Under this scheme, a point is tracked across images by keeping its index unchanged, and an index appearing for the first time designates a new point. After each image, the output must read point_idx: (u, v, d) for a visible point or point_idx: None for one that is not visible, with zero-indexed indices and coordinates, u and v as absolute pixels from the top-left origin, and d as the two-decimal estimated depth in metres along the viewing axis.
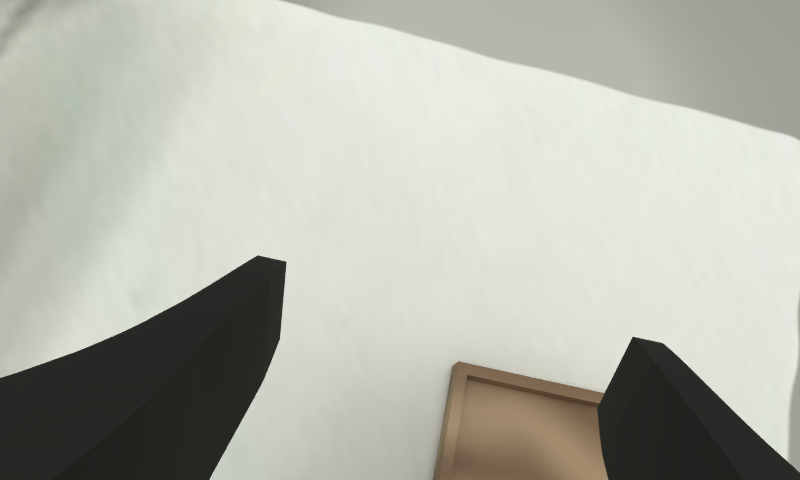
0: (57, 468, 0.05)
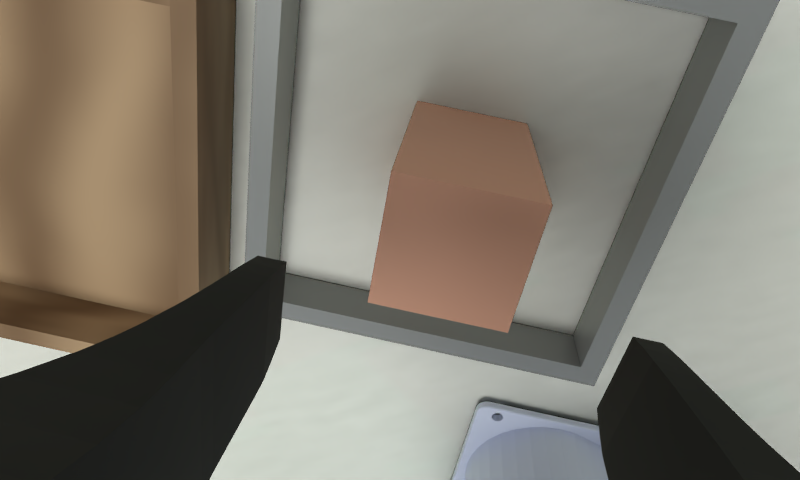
0: (57, 468, 0.05)
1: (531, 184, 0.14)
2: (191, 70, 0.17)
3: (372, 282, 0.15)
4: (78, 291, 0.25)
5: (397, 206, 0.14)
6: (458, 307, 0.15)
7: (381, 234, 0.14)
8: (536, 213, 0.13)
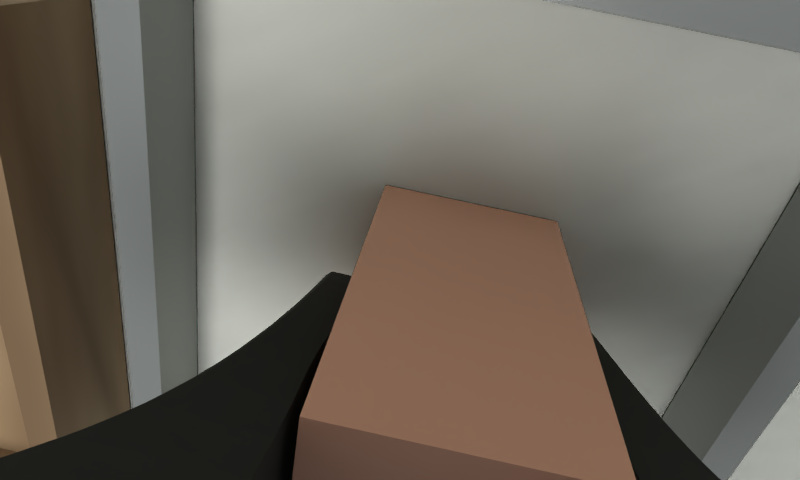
0: None
1: (586, 413, 0.07)
2: None
3: None
4: None
5: (317, 473, 0.07)
6: None
7: None
8: None
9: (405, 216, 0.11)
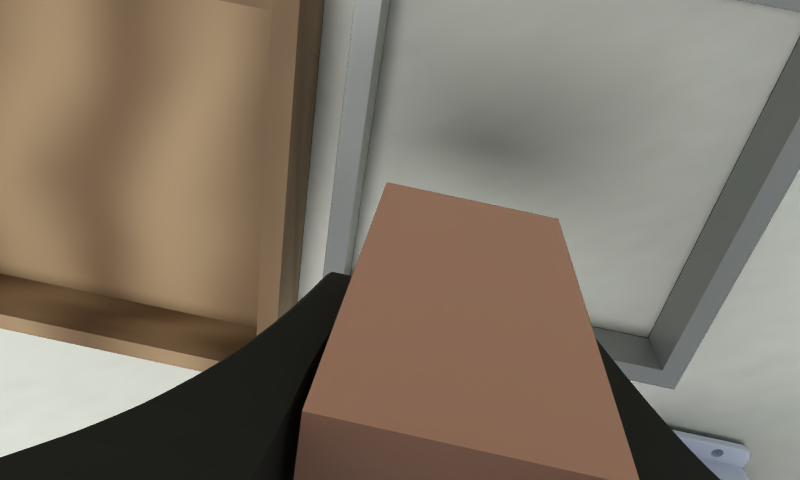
0: None
1: (588, 408, 0.07)
2: (289, 74, 0.16)
3: None
4: (146, 297, 0.25)
5: (319, 467, 0.07)
6: None
7: None
8: None
9: (406, 213, 0.11)
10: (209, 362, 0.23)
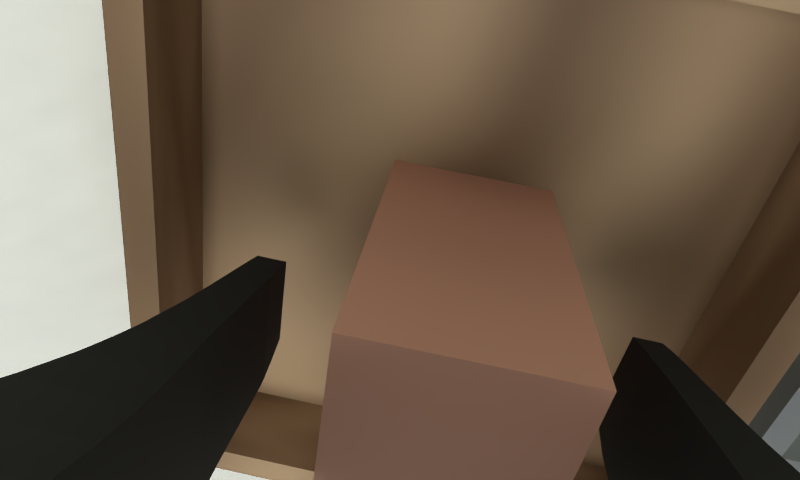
0: (57, 468, 0.05)
1: (573, 335, 0.08)
2: None
3: None
4: None
5: (346, 384, 0.08)
6: None
7: (323, 422, 0.08)
8: (586, 401, 0.08)
9: (414, 185, 0.12)
10: None
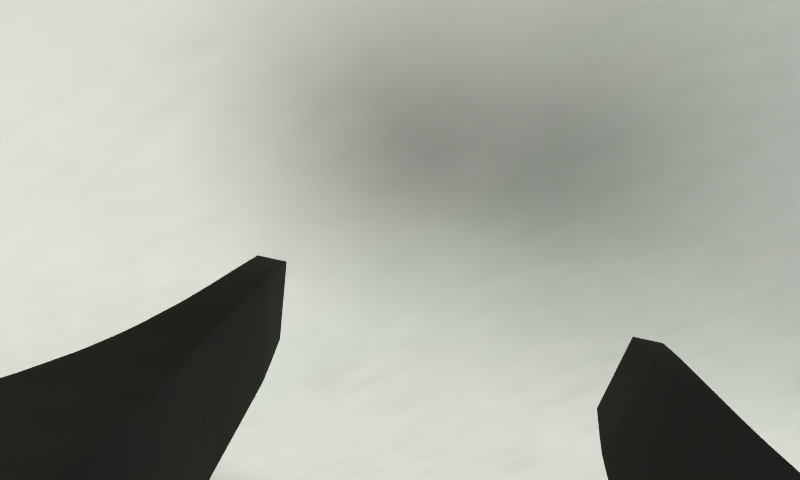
0: (57, 468, 0.05)
1: None
2: None
3: None
4: None
5: None
6: None
7: None
8: None
9: None
10: None
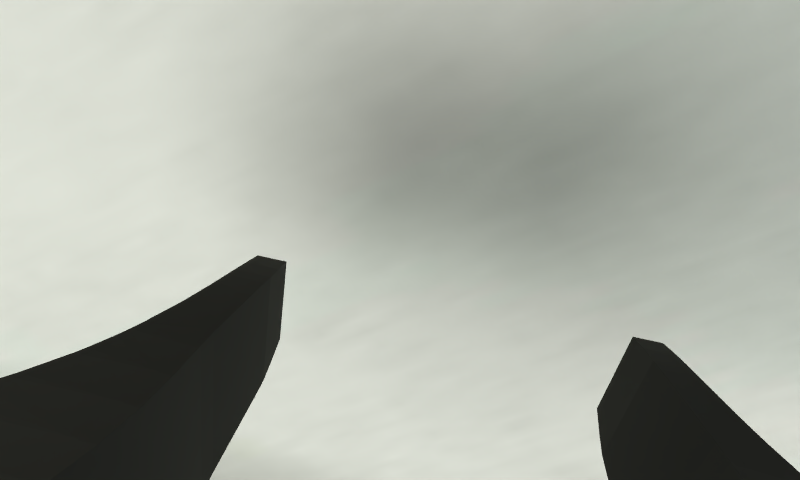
0: (57, 468, 0.05)
1: None
2: None
3: None
4: None
5: None
6: None
7: None
8: None
9: None
10: None
